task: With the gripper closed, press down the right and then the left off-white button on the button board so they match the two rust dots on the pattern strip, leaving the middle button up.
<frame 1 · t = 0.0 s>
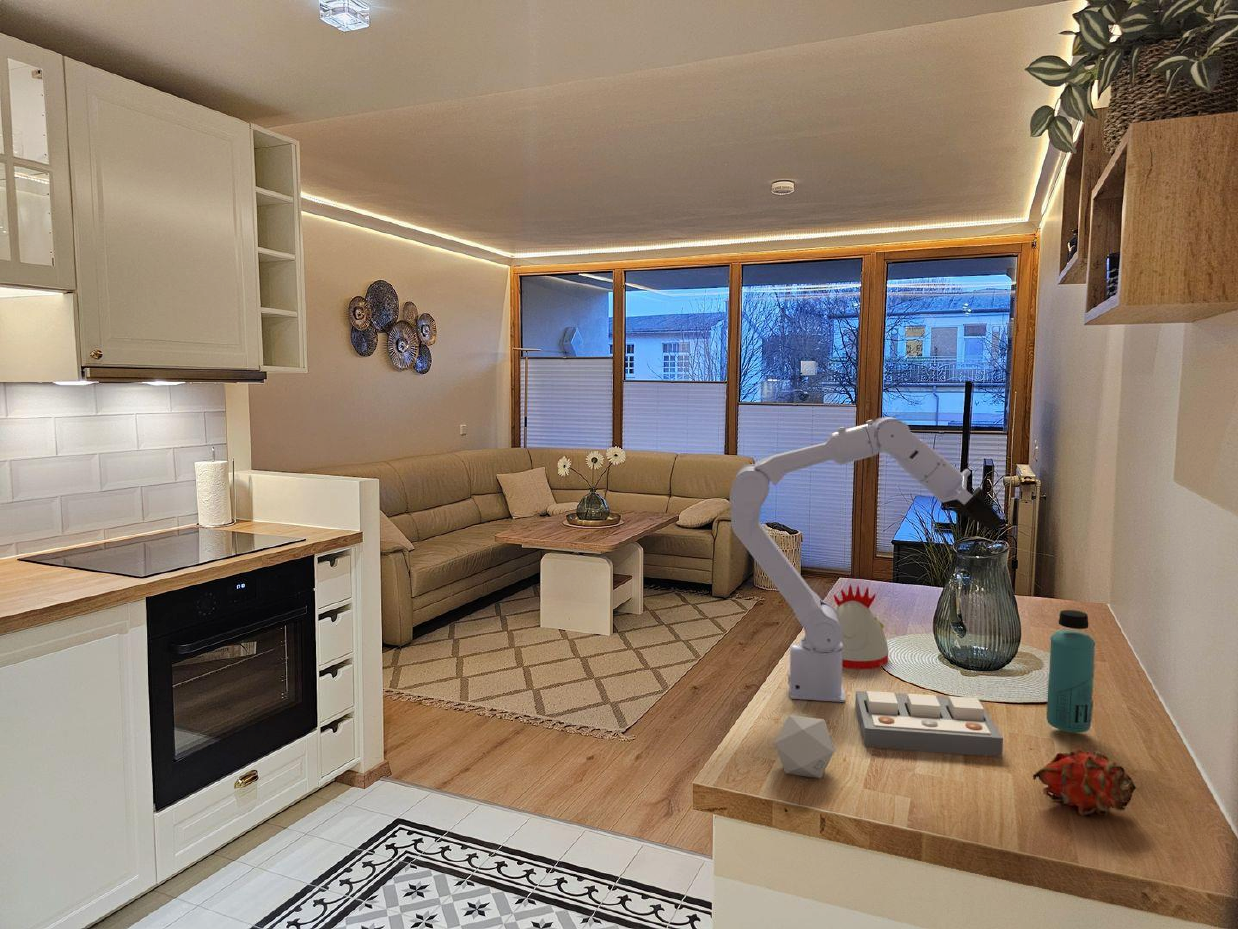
hand: (992, 522, 139), 32 cm above the worktop, tool tilted 50°, fingers open, 7 cm apart
die: (804, 772, 119), on the worktop
dragon fruit: (1081, 810, 109), on the worktop
middle button: (923, 705, 133), point 4 cm above the worktop, slide at 0.0 cm
left button: (881, 702, 134), point 4 cm above the worktop, slide at 0.0 cm
right button: (965, 708, 132), point 4 cm above the worktop, slide at 0.0 cm
beverage bottle: (1067, 734, 131), on the worktop
button board: (923, 730, 132), on the worktop
kitchen timer: (852, 657, 166), on the worktop
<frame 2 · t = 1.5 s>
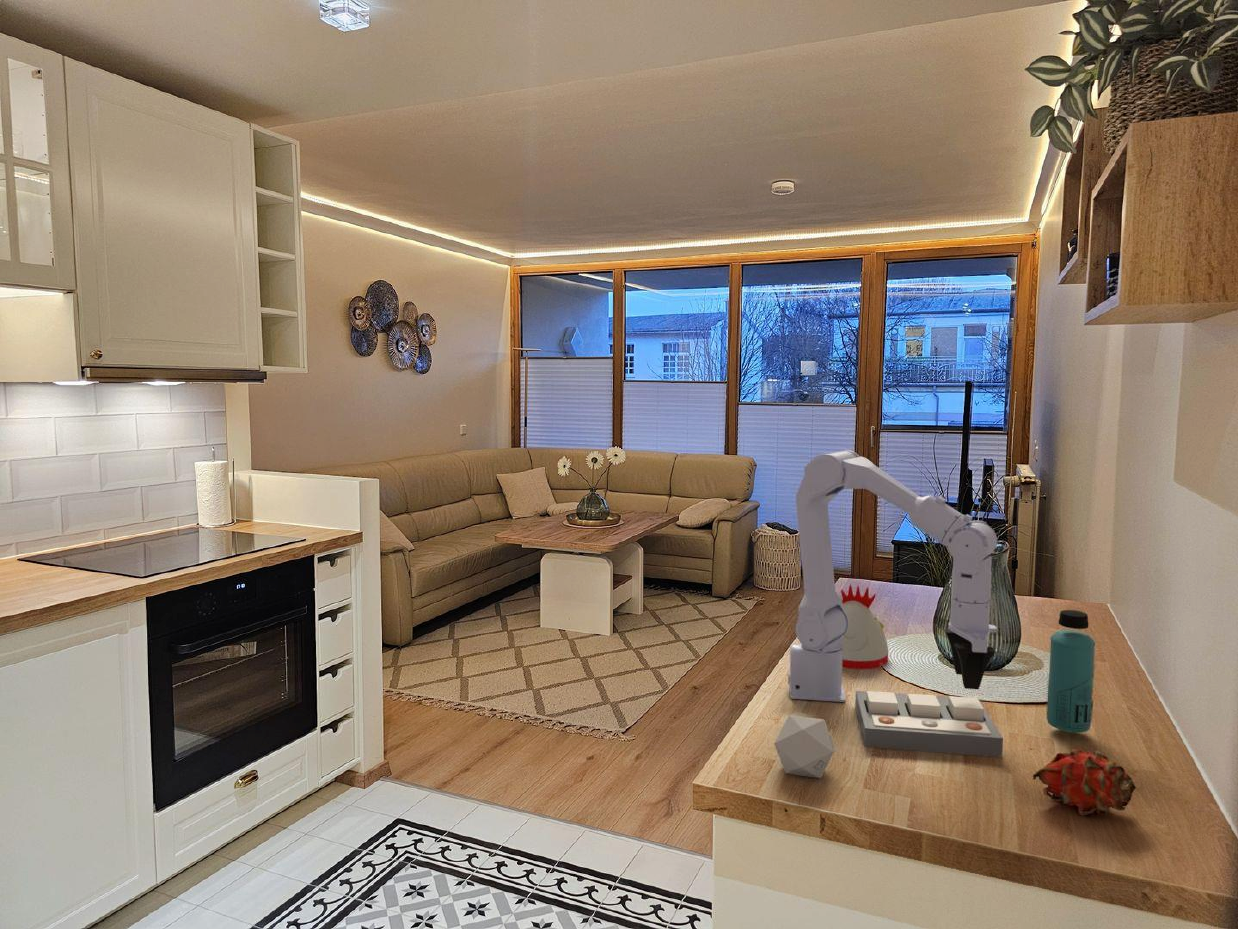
hand: (966, 681, 131), 8 cm above the worktop, tool pointing down, fingers open, 5 cm apart
nothing on the worktop moved.
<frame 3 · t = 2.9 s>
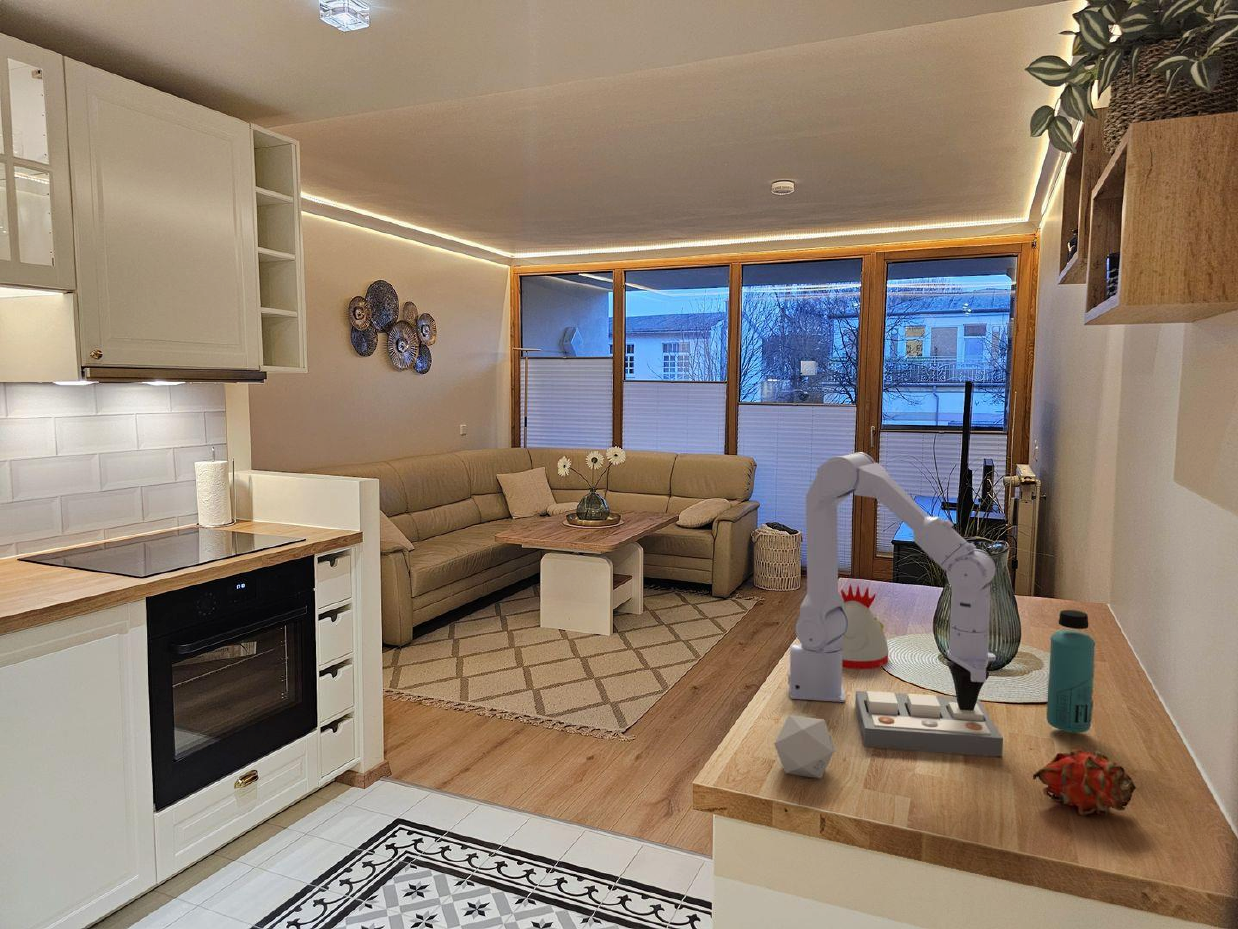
hand: (965, 708, 132), 4 cm above the worktop, tool pointing down, fingers closed, pressing on right button
right button: (965, 714, 132), point 3 cm above the worktop, slide at 1.0 cm, touching gripper
everything else where it was.
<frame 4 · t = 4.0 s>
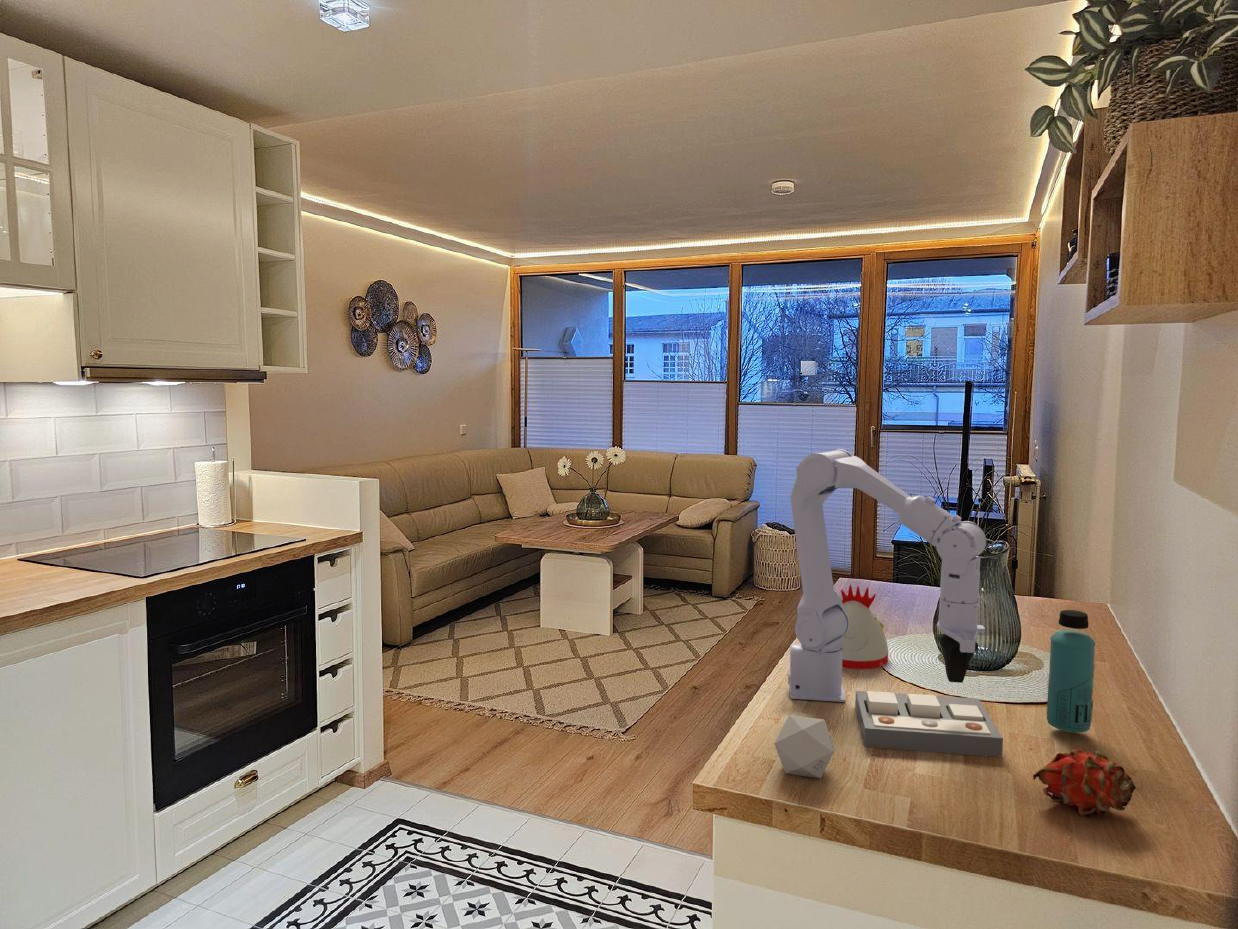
hand: (955, 680, 131), 8 cm above the worktop, tool pointing down, fingers closed
right button: (965, 716, 132), point 2 cm above the worktop, slide at 1.3 cm
everything else where it was.
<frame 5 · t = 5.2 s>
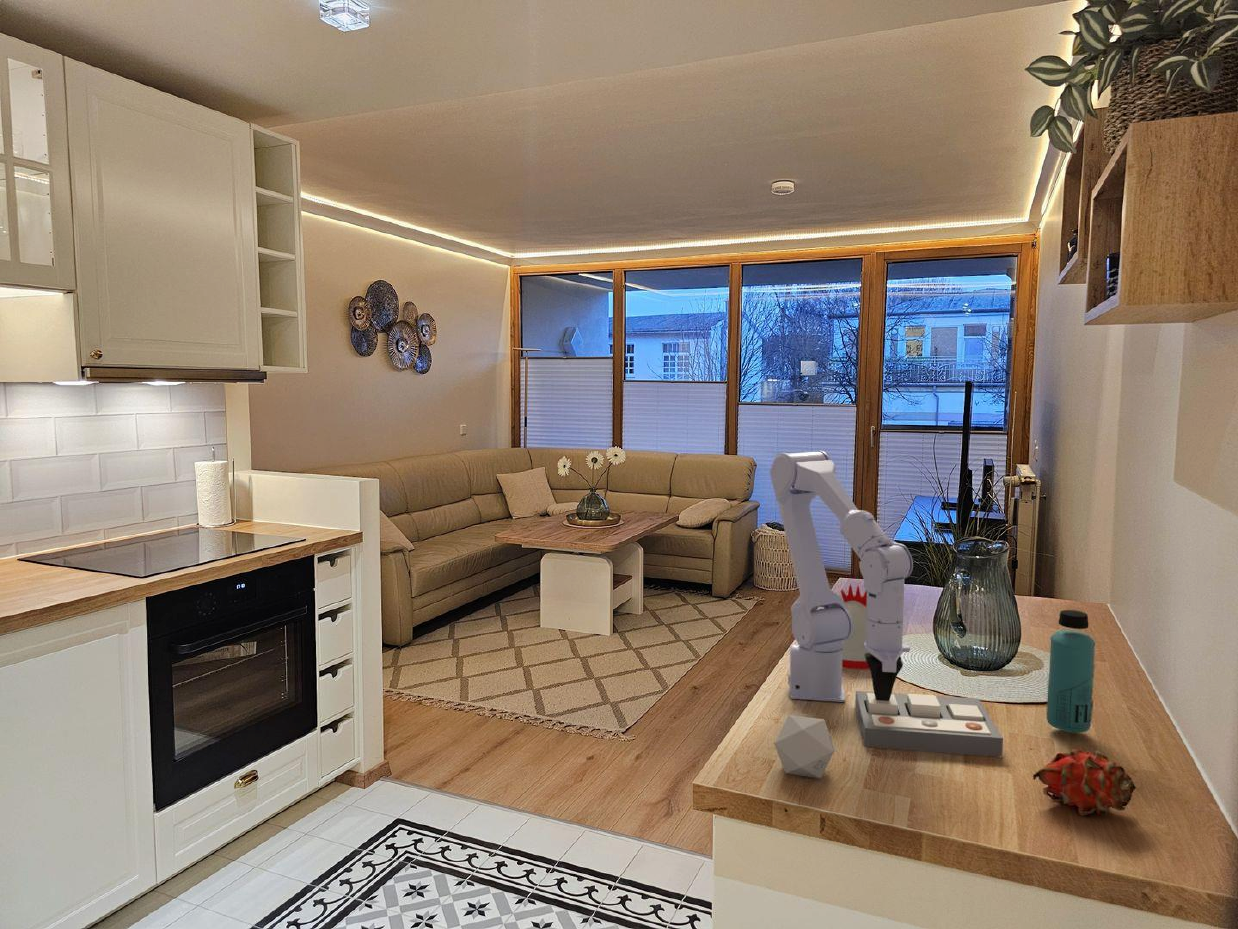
hand: (882, 699, 134), 4 cm above the worktop, tool pointing down, fingers closed, pressing on left button
left button: (881, 704, 134), point 3 cm above the worktop, slide at 0.3 cm, touching gripper
everything else where it was.
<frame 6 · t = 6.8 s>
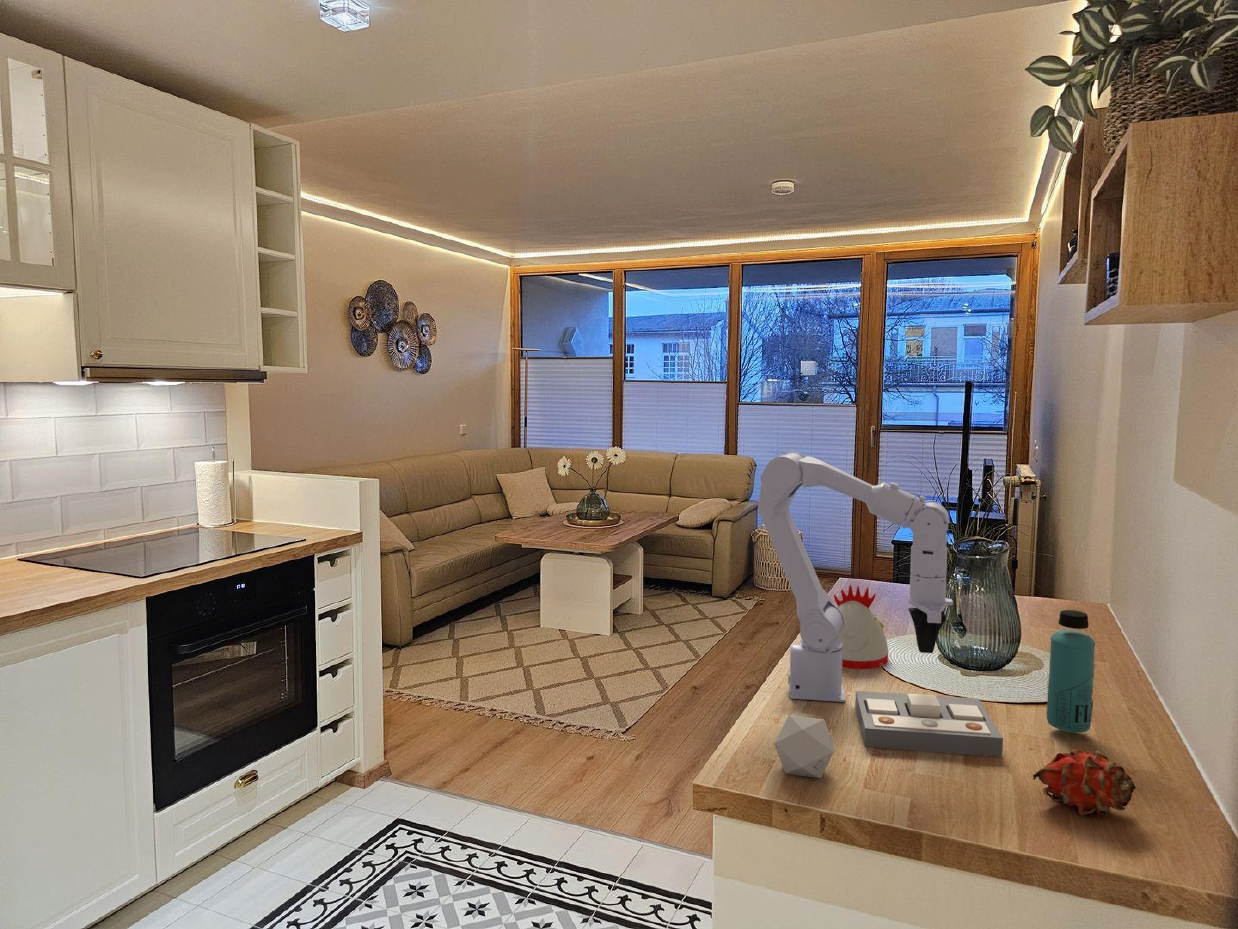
hand: (925, 651, 139), 10 cm above the worktop, tool pointing down, fingers closed
left button: (881, 710, 134), point 2 cm above the worktop, slide at 1.3 cm
everything else where it was.
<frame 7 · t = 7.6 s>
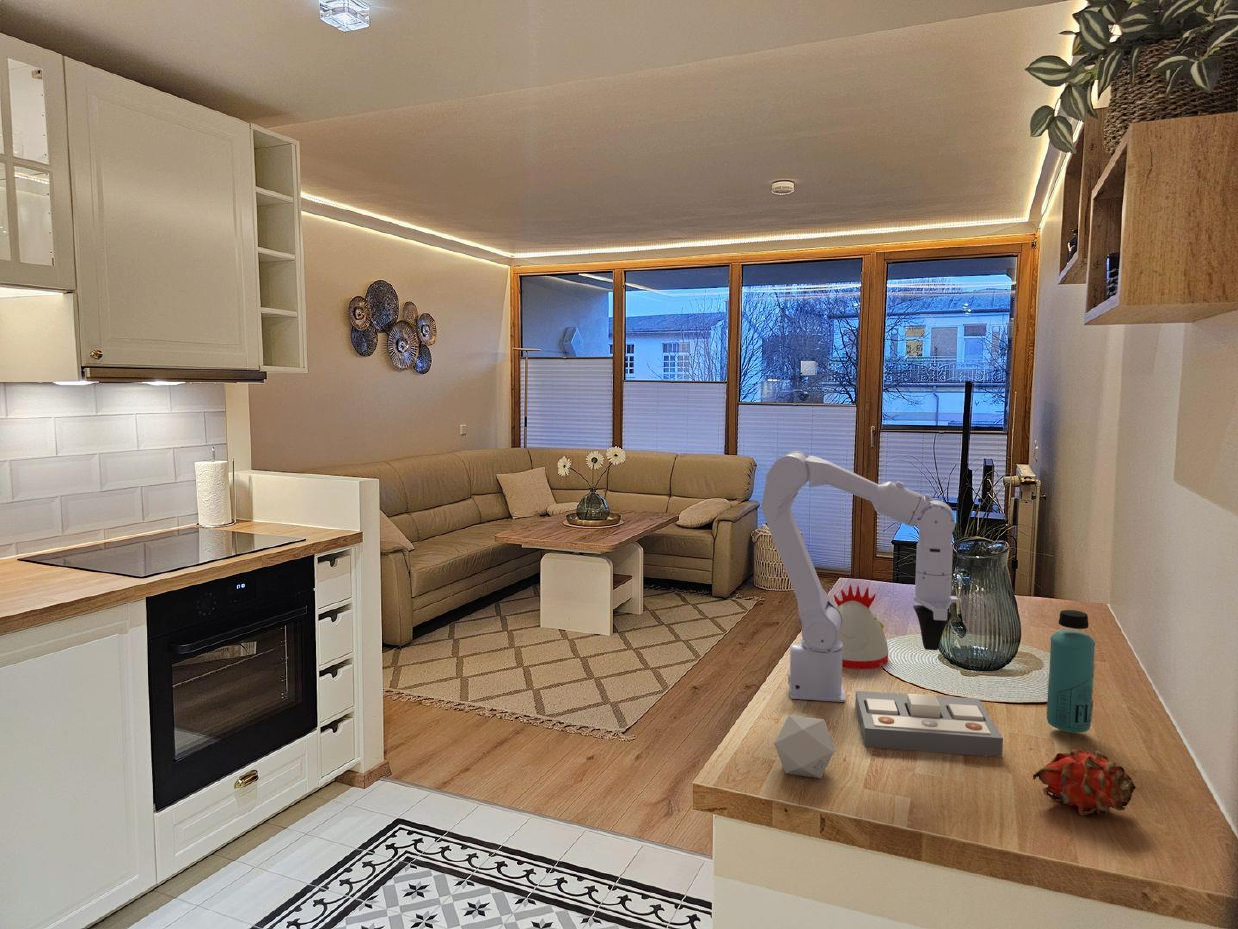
hand: (930, 648, 140), 10 cm above the worktop, tool pointing down, fingers closed
nothing on the worktop moved.
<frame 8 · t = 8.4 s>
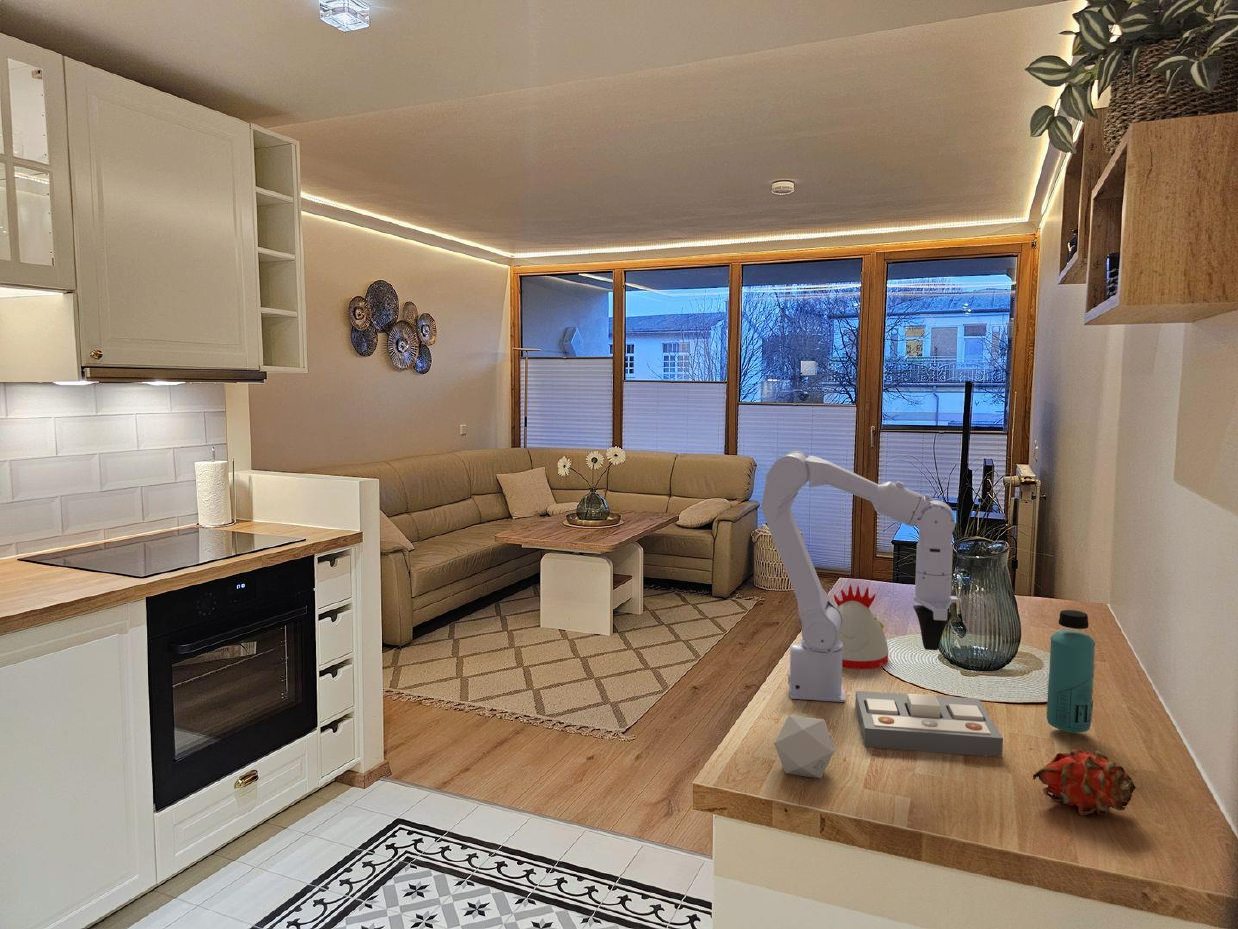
hand: (930, 648, 140), 10 cm above the worktop, tool pointing down, fingers closed
nothing on the worktop moved.
at the end: right button slide at 1.3 cm; left button slide at 1.3 cm; middle button slide at 0.0 cm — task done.
